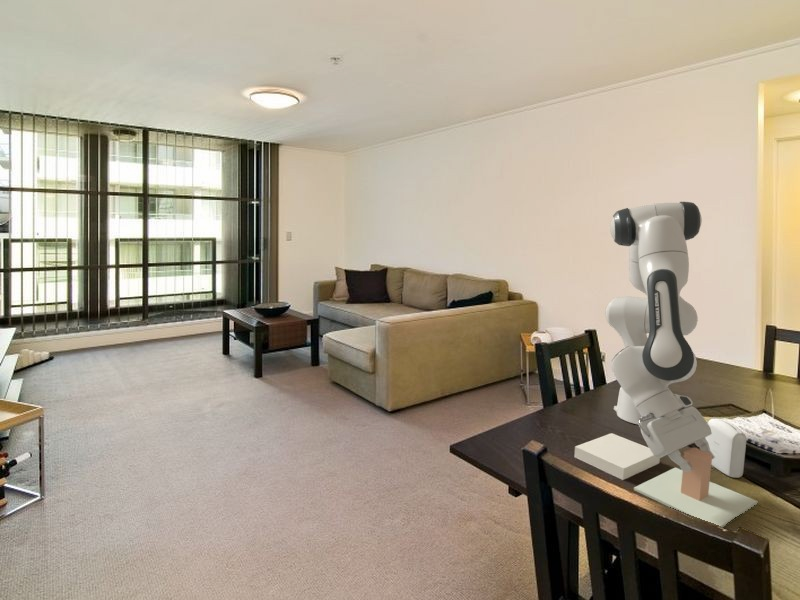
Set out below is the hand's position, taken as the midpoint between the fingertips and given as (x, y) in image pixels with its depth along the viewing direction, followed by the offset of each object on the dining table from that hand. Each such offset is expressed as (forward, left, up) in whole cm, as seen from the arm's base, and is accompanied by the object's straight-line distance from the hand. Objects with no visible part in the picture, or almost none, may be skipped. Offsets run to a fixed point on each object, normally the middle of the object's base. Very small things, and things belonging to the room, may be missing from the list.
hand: (700, 465), depth 107 cm
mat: (0, -1, -8) cm, 8 cm away
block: (0, -1, -7) cm, 7 cm away
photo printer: (-20, -4, -8) cm, 22 cm away
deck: (-1, -21, -8) cm, 22 cm away
